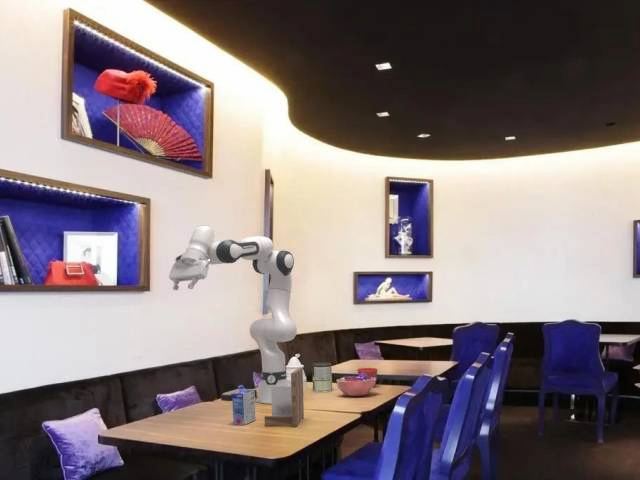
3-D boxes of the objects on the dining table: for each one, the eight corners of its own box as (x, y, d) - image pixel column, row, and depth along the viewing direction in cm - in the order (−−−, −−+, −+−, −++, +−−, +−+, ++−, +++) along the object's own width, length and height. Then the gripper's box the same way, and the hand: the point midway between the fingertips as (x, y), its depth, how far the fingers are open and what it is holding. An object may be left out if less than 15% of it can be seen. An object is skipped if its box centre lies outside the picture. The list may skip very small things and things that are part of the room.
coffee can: (308, 391, 318) (308, 363, 319) (325, 389, 324) (324, 362, 325) (320, 393, 309) (319, 365, 311) (336, 391, 315) (335, 363, 317)
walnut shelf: (273, 417, 249) (272, 368, 251) (303, 417, 247) (302, 367, 249) (263, 427, 231) (262, 373, 233) (296, 427, 230) (294, 373, 231)
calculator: (220, 393, 297) (239, 387, 310) (220, 402, 297) (239, 396, 310) (238, 394, 292) (256, 388, 305) (238, 403, 292) (257, 397, 305)
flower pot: (376, 385, 331) (375, 367, 332) (379, 388, 320) (378, 369, 321) (357, 386, 330) (356, 368, 331) (359, 389, 320) (358, 370, 321)
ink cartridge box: (244, 419, 247) (243, 383, 248) (256, 420, 245) (255, 383, 246) (232, 424, 238) (231, 387, 239) (244, 425, 236) (244, 387, 237)
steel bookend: (274, 417, 250) (273, 385, 251) (300, 417, 248) (299, 384, 250) (271, 419, 246) (271, 386, 247) (298, 419, 244) (297, 386, 245)
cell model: (331, 395, 303) (330, 372, 304) (367, 391, 310) (367, 369, 311) (344, 400, 287) (343, 375, 288) (382, 396, 294) (381, 372, 295)
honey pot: (306, 385, 338) (305, 352, 340) (306, 389, 325) (305, 355, 327) (283, 386, 338) (282, 353, 340) (282, 389, 325) (281, 355, 327)
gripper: (215, 261, 251) (204, 291, 244) (183, 265, 263) (172, 293, 257) (205, 253, 247) (194, 283, 240) (172, 258, 259) (161, 286, 253)
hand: (182, 289), depth 249 cm, fingers open, 8 cm apart
